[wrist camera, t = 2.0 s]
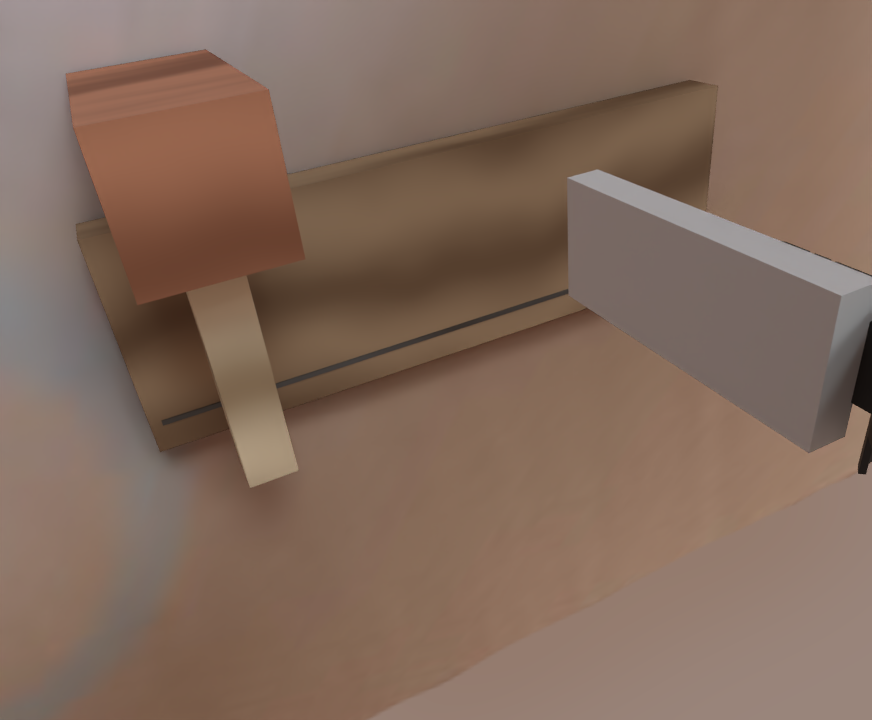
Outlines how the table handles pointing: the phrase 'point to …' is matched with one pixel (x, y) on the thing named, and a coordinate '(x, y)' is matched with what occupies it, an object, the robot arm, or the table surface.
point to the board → (411, 253)
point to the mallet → (198, 216)
